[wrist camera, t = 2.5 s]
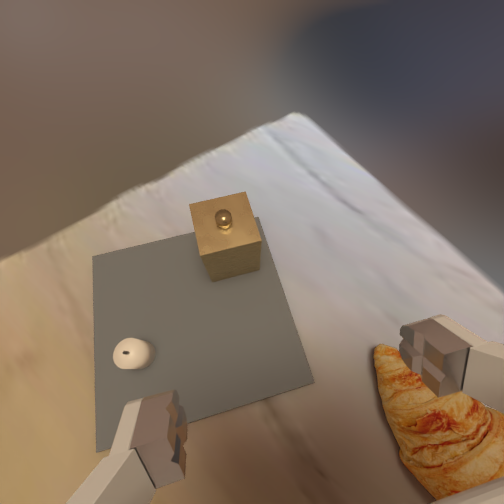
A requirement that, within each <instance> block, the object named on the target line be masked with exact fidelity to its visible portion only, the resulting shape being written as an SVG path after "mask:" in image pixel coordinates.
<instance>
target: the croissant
mask: <svg viewBox="0 0 504 504" xmlns="http://www.w3.org/2000/svg"><path fill="white" fill-rule="evenodd" d="M374 360H375V368H376V372H377V379H378V390H379V393H380V396H381V399H382V405H383V408H384V411H385V415H386V418H387V421H388V423H389V425H390V427H391V429H392V431H393V434H394V436H395V438H396V440H397V442H398V444H399V446H400V448H401V449H400V451H399V456H400V458H401V461H402V462H403V464H404V465H405V466H406V467H407V469H408V470H409V471H410V472H411V473H412V474H413V475H414V476H415V477H416V479H417V480H418V481H419V482H420V483H421V484H422V485H423V486H424V487H425V488H426V490H427V491H428V492H429V493H430V494H431V495H432V496H433V497H434V498H435V499H436V500H440V499H443V498H446V497H448V496H451V495H454V494H456V493H459V492H462V491H465V490H467V489H470V488H473V487H475V486H478V485H481V484H484V483H486V482H489V481H492V480H494V479H497V478H500V477H503V476H504V414H503V413H501V412H500V411H497V410H494V409H491V408H489V407H485V406H484V405H483V404H482V403H481V402H480V401H478V400H476V399H474V398H472V397H470V396H468V395H466V394H464V393H462V391H460V392H457V393H453V394H450V395H446V396H442V397H439V398H438V397H437V396H436V395H435V394H434V393H433V392H432V391H431V390H430V389H429V388H428V387H427V386H426V385H425V384H424V383H423V382H422V379H421V375H420V374H417V373H415V372H413V371H411V370H410V369H409V368H408V367H407V366H406V364H405V363H404V361H403V360H402V358H401V355H400V352H399V351H398V350H397V349H396V348H393V347H390V346H387V345H384V344H379V345H378V346H377V347H375V350H374Z"/></svg>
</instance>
